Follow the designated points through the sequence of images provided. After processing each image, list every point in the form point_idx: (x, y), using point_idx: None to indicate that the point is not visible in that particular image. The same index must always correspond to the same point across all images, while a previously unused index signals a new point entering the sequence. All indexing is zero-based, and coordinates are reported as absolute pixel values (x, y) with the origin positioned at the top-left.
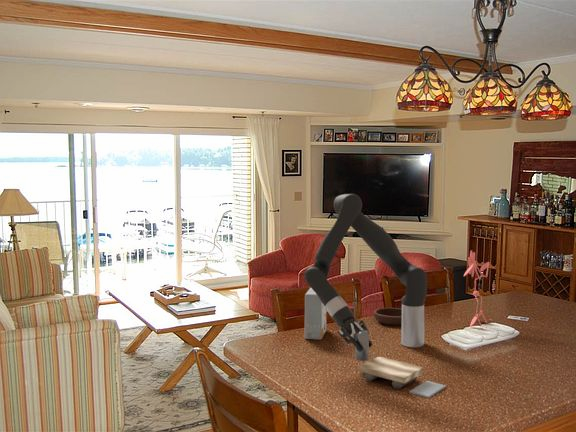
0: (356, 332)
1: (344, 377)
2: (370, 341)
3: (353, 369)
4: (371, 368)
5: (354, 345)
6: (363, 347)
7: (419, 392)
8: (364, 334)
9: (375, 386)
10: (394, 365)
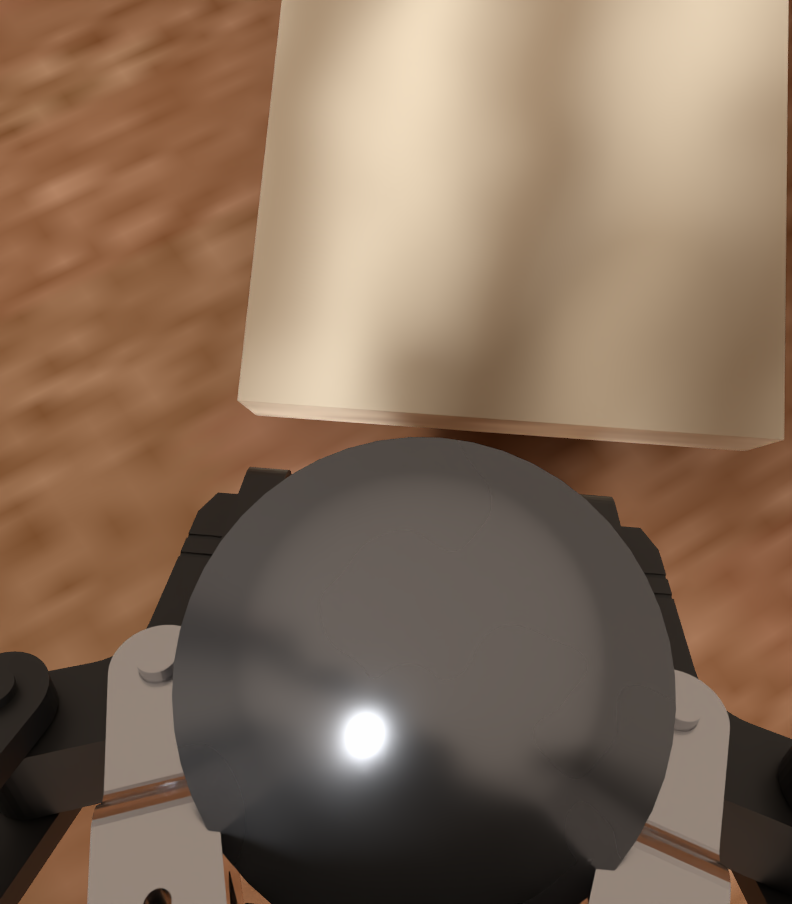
0: (584, 836)
1: (756, 643)
2: (235, 511)
3: None
4: (767, 244)
5: None
6: None
7: None
8: (571, 489)
9: None
10: (464, 56)
